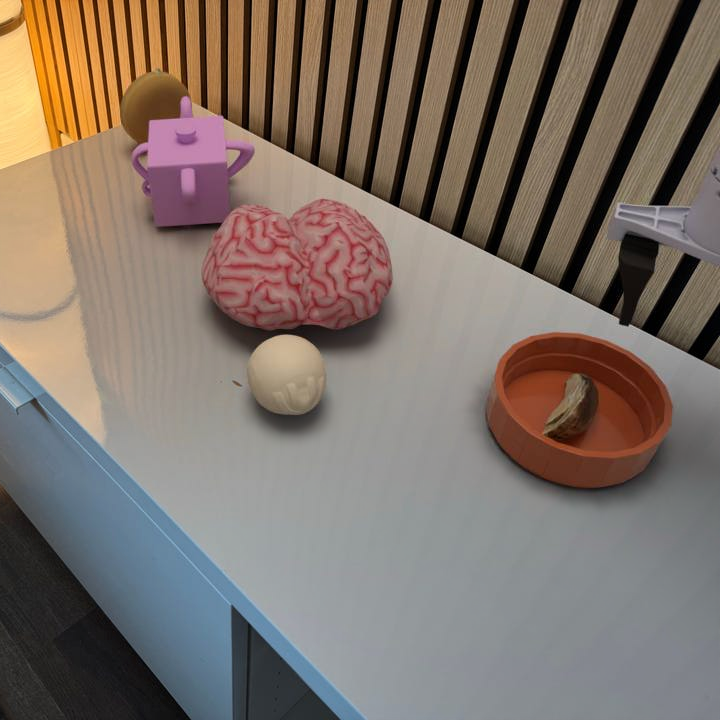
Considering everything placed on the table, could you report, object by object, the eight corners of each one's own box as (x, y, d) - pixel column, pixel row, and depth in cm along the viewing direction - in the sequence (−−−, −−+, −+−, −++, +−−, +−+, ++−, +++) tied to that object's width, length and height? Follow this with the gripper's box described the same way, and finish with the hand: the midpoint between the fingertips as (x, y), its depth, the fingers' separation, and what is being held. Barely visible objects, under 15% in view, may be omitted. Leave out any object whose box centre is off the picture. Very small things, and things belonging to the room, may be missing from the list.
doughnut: (185, 127, 103) (177, 55, 95) (198, 139, 100) (192, 65, 93) (122, 149, 99) (110, 75, 92) (135, 161, 97) (124, 87, 90)
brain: (364, 232, 85) (372, 152, 78) (407, 344, 72) (421, 262, 65) (197, 249, 84) (189, 170, 77) (211, 365, 71) (204, 284, 64)
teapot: (141, 164, 96) (130, 89, 89) (250, 158, 97) (247, 82, 89) (136, 251, 84) (123, 172, 77) (261, 243, 84) (259, 163, 77)
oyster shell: (549, 434, 69) (550, 470, 60) (524, 401, 69) (522, 432, 60) (610, 399, 66) (620, 432, 57) (584, 365, 67) (591, 392, 57)
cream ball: (269, 443, 65) (268, 391, 60) (237, 385, 69) (234, 333, 65) (340, 419, 66) (344, 366, 61) (304, 364, 71) (306, 311, 66)
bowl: (658, 393, 67) (678, 358, 64) (644, 514, 58) (666, 481, 55) (502, 351, 71) (513, 316, 68) (468, 458, 63) (479, 424, 60)
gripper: (888, 166, 48) (785, 322, 58) (642, 125, 53) (585, 276, 62) (901, 228, 44) (787, 385, 53) (632, 177, 48) (573, 330, 58)
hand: (678, 330), depth 58 cm, fingers open, 7 cm apart
